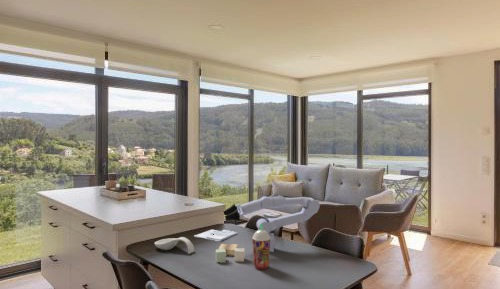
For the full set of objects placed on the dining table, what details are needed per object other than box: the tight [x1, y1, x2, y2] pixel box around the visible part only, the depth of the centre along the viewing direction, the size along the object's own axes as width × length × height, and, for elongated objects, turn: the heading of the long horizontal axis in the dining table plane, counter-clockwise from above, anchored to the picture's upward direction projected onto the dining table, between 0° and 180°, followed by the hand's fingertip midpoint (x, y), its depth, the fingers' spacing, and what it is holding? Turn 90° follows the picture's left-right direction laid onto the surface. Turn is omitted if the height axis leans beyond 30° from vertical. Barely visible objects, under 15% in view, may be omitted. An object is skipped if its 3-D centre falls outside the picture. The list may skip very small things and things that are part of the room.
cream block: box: [233, 247, 246, 262], centre depth 167 cm, size 4×4×5 cm
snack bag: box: [193, 229, 238, 242], centre depth 210 cm, size 19×20×2 cm
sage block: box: [215, 248, 227, 263], centre depth 166 cm, size 4×4×5 cm
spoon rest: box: [154, 236, 195, 255], centre depth 183 cm, size 24×12×7 cm, turn 62°
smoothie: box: [251, 224, 271, 270], centre depth 157 cm, size 8×8×20 cm
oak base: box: [218, 243, 239, 257], centre depth 178 cm, size 9×9×3 cm
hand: (224, 215), depth 179 cm, fingers open, 7 cm apart
